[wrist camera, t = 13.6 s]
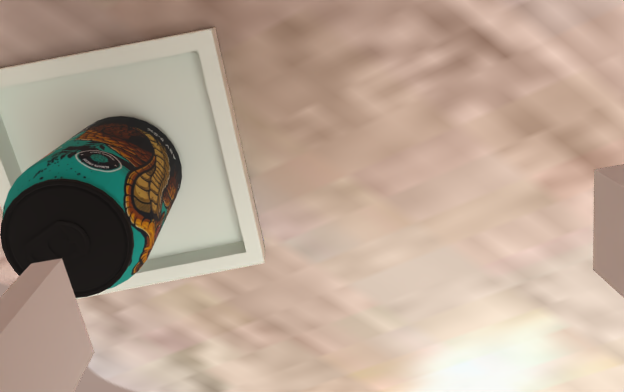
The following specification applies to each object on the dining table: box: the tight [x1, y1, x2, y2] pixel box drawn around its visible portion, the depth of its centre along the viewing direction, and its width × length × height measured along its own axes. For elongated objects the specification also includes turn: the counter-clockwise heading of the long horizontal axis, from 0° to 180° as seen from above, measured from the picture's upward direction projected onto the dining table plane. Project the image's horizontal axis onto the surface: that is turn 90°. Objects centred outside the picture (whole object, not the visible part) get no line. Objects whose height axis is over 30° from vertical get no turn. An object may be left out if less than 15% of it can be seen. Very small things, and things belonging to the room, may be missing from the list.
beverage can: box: [0, 116, 182, 298], centre depth 31 cm, size 7×7×12 cm
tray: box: [0, 27, 265, 299], centre depth 37 cm, size 15×15×2 cm
